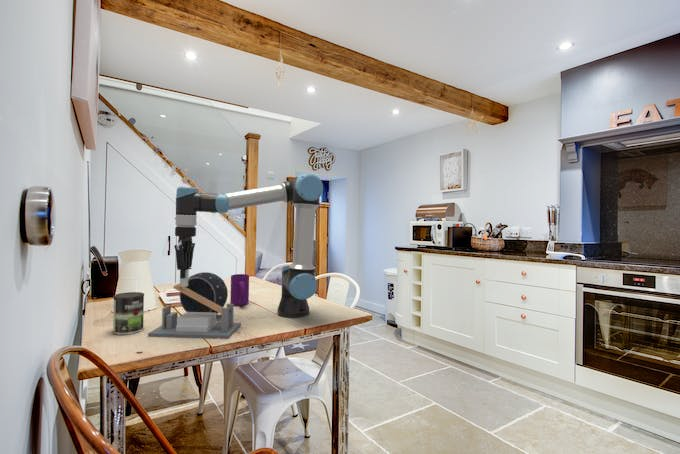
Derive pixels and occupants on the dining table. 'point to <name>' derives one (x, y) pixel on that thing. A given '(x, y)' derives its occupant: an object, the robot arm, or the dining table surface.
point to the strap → (199, 298)
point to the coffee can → (128, 313)
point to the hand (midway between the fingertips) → (183, 286)
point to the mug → (239, 289)
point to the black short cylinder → (204, 292)
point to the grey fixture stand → (196, 324)
